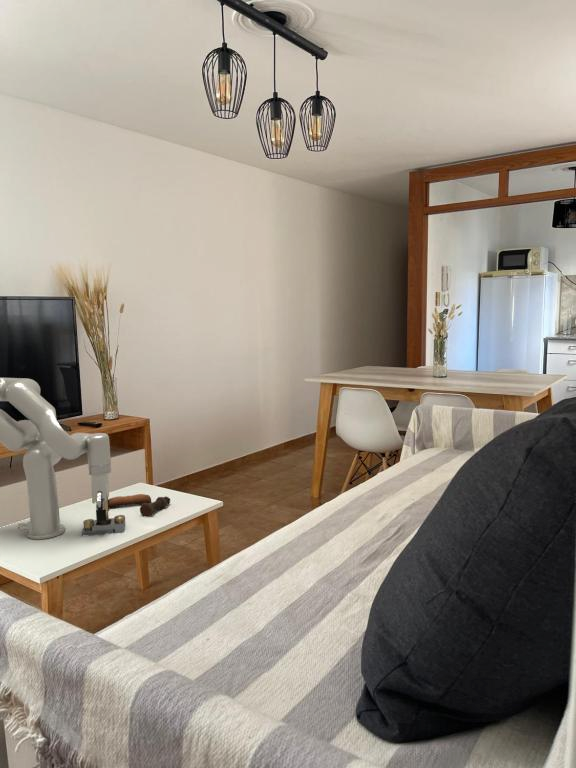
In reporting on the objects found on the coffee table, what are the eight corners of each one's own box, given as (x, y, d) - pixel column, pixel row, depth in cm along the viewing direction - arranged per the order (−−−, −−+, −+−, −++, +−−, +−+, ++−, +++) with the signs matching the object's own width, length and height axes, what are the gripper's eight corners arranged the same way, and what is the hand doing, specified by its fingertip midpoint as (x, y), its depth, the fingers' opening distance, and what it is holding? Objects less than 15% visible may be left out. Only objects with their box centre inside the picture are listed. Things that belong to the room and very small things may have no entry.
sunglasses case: (151, 497, 243) (150, 486, 239) (152, 510, 237) (151, 499, 233) (105, 502, 238) (104, 491, 234) (105, 516, 233) (104, 504, 229)
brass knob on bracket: (82, 536, 203) (81, 523, 202) (84, 528, 209) (84, 516, 209) (124, 531, 205) (123, 519, 205) (126, 524, 212) (125, 513, 212)
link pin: (96, 533, 205) (94, 497, 203) (98, 528, 209) (96, 493, 207) (109, 532, 206) (107, 496, 204) (111, 527, 210) (108, 492, 208)
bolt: (169, 509, 234) (147, 520, 220) (159, 502, 235) (137, 513, 221) (175, 497, 233) (153, 508, 219) (165, 490, 234) (143, 500, 220)
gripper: (92, 463, 212) (95, 509, 214) (85, 476, 195) (88, 525, 198) (113, 461, 214) (116, 507, 216) (108, 474, 197) (111, 523, 199)
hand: (103, 515), depth 207 cm, fingers open, 9 cm apart
